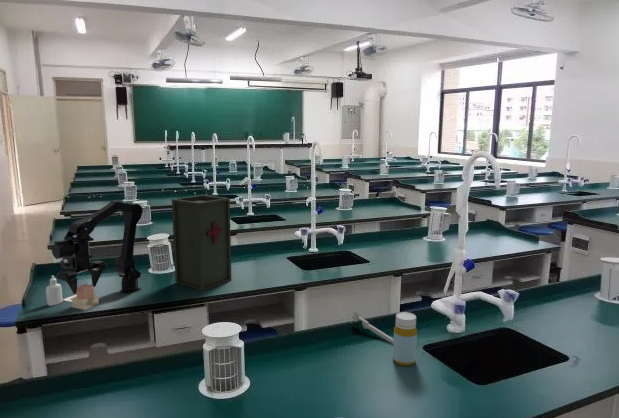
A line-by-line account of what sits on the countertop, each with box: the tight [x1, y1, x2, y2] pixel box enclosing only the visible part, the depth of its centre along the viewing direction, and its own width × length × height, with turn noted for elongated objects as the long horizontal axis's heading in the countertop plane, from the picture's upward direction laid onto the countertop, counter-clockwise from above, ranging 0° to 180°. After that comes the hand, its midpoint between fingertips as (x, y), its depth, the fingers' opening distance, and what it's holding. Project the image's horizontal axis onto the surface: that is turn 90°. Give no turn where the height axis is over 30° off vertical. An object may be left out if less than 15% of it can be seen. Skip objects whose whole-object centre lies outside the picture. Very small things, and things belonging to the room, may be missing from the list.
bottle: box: [392, 311, 418, 367], centre depth 143 cm, size 7×7×15 cm
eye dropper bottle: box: [45, 275, 64, 307], centre depth 188 cm, size 4×6×12 cm
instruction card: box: [63, 294, 77, 303], centre depth 196 cm, size 8×6×1 cm
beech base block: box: [71, 294, 100, 311], centre depth 187 cm, size 7×7×4 cm
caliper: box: [351, 311, 394, 345], centre depth 162 cm, size 20×1×6 cm, turn 43°
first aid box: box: [171, 194, 232, 292], centre depth 214 cm, size 18×18×40 cm
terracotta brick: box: [75, 283, 95, 300], centre depth 186 cm, size 4×4×4 cm
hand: (84, 290), depth 186 cm, fingers open, 9 cm apart
